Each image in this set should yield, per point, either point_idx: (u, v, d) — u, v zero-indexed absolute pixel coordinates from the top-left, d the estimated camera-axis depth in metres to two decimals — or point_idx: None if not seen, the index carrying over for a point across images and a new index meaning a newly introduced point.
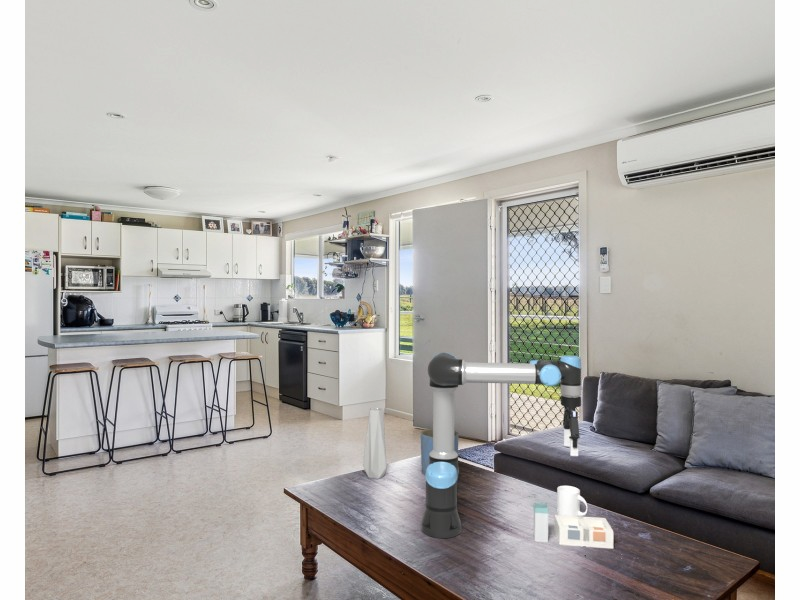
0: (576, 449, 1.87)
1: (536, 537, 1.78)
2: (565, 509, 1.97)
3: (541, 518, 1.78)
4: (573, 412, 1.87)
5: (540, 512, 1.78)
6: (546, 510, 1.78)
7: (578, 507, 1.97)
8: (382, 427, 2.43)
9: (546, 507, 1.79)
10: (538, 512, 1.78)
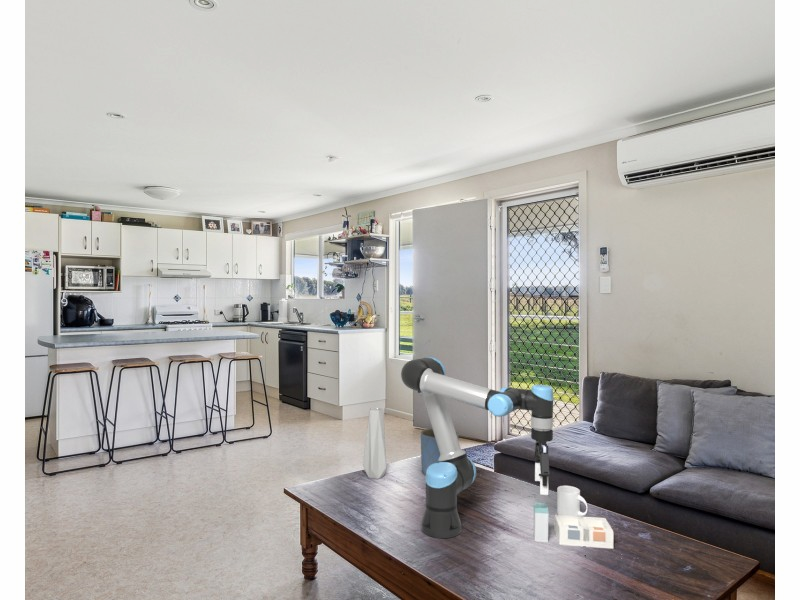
0: (546, 487, 1.74)
1: (536, 537, 1.78)
2: (565, 509, 1.96)
3: (541, 518, 1.78)
4: (543, 447, 1.74)
5: (540, 512, 1.78)
6: (546, 510, 1.78)
7: (578, 507, 1.97)
8: (382, 427, 2.43)
9: (546, 507, 1.79)
10: (538, 512, 1.78)
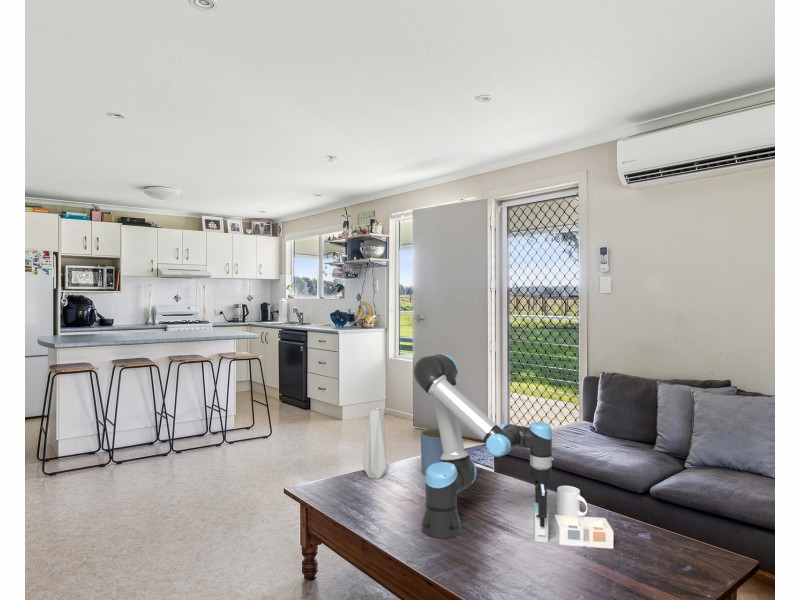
0: (544, 528, 1.77)
1: (536, 537, 1.78)
2: (565, 509, 1.97)
3: None
4: (542, 492, 1.74)
5: None
6: None
7: (578, 507, 1.97)
8: (382, 427, 2.43)
9: None
10: None
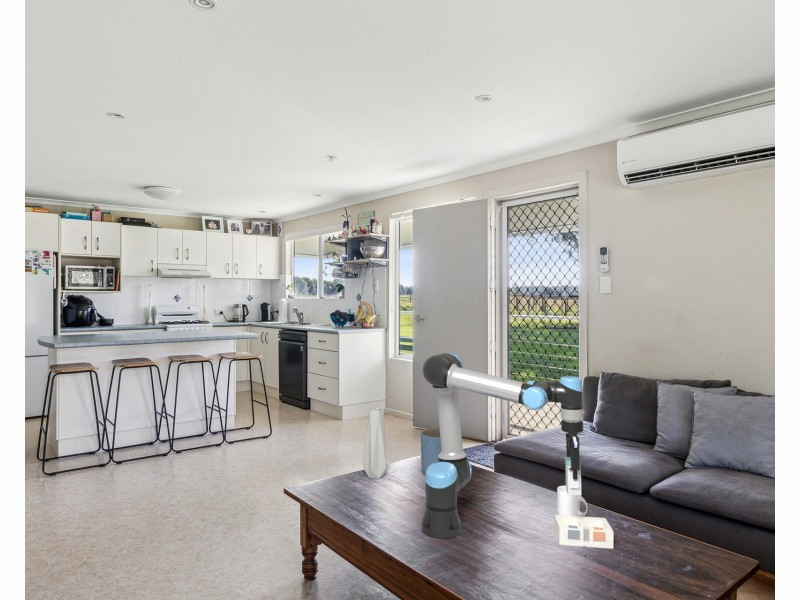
0: (576, 481, 1.77)
1: (569, 490, 1.78)
2: (565, 509, 1.97)
3: None
4: (575, 443, 1.74)
5: None
6: None
7: (578, 507, 1.97)
8: (382, 427, 2.43)
9: None
10: (570, 465, 1.78)
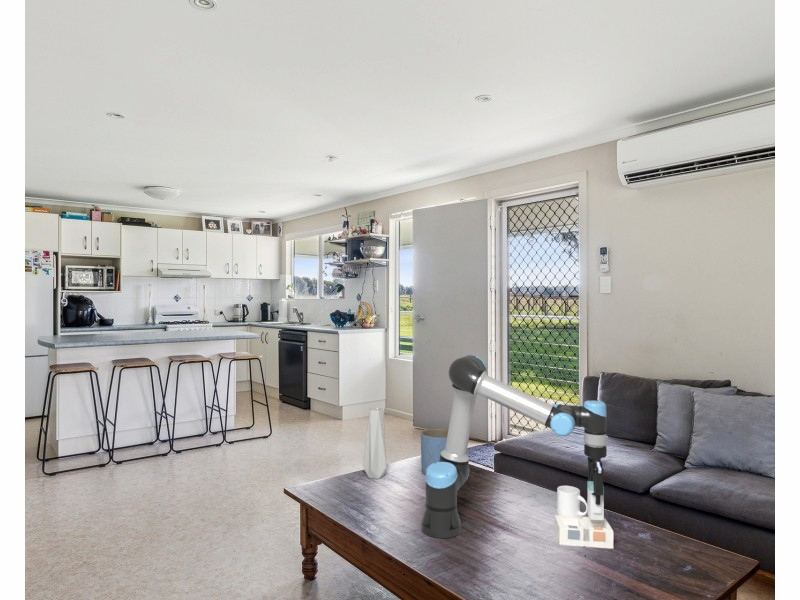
0: (599, 506, 1.77)
1: (591, 515, 1.78)
2: (565, 509, 1.97)
3: None
4: (599, 469, 1.73)
5: None
6: None
7: (578, 507, 1.97)
8: (382, 427, 2.43)
9: None
10: (593, 490, 1.78)
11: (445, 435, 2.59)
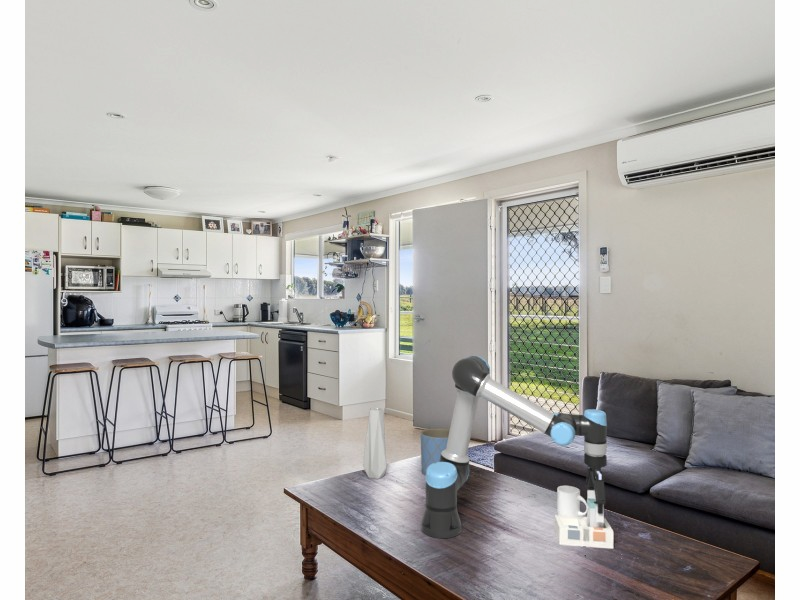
0: (601, 515, 1.73)
1: None
2: (565, 509, 1.97)
3: None
4: (599, 475, 1.73)
5: None
6: None
7: (578, 507, 1.97)
8: (382, 427, 2.43)
9: None
10: (593, 508, 1.78)
11: (445, 435, 2.59)
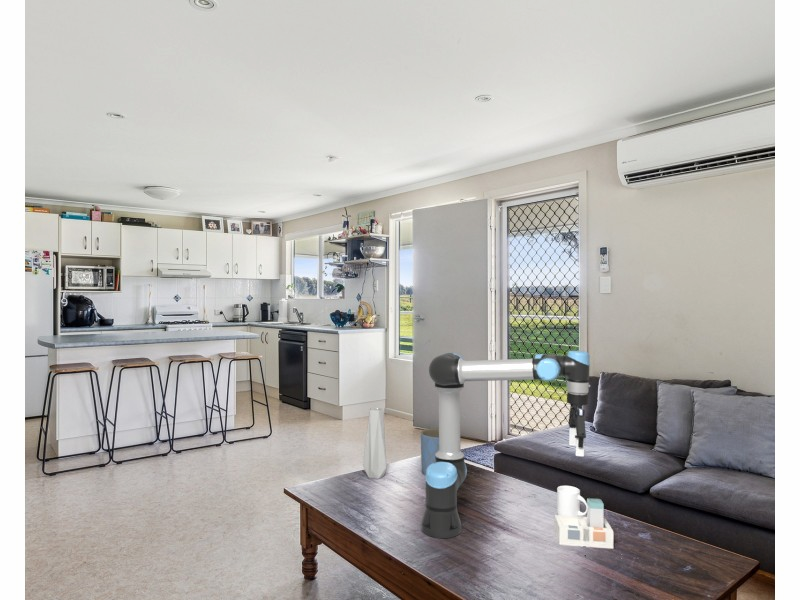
0: (582, 449, 1.78)
1: None
2: (565, 509, 1.97)
3: (596, 513, 1.77)
4: (580, 410, 1.78)
5: (595, 508, 1.77)
6: (601, 506, 1.77)
7: (578, 507, 1.97)
8: (382, 427, 2.43)
9: (601, 503, 1.78)
10: (593, 508, 1.78)
11: None
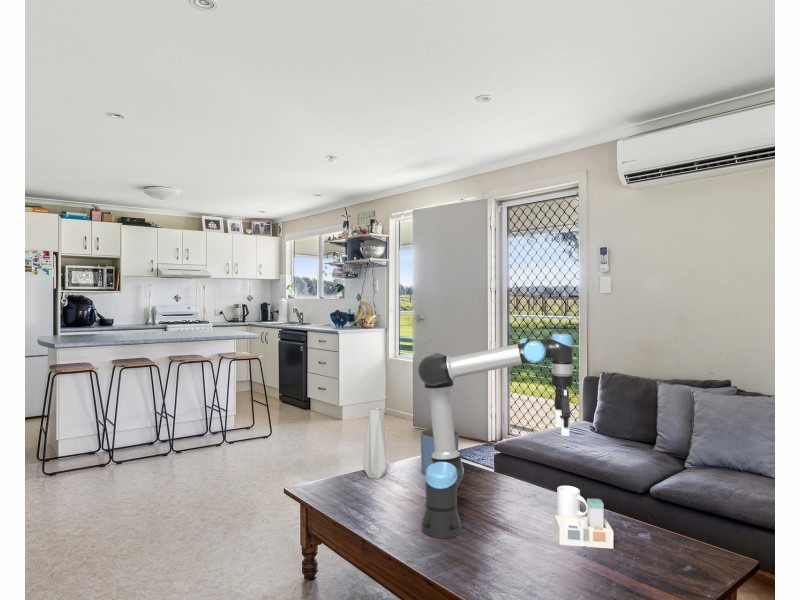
0: (567, 429, 1.82)
1: None
2: (565, 509, 1.97)
3: (596, 513, 1.77)
4: (564, 391, 1.83)
5: (595, 508, 1.77)
6: (601, 506, 1.77)
7: (578, 507, 1.97)
8: (382, 427, 2.43)
9: (601, 503, 1.78)
10: (593, 508, 1.78)
11: None
